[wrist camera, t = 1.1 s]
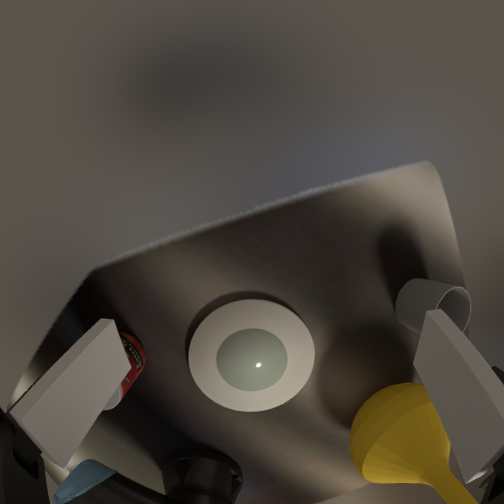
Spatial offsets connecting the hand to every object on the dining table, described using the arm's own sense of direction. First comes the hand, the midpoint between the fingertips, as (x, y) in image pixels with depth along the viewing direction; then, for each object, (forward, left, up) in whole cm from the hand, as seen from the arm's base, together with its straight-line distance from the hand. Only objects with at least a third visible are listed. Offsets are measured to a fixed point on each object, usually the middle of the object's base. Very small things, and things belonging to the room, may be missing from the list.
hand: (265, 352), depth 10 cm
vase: (-14, -33, -27) cm, 45 cm away
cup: (+6, -28, -27) cm, 40 cm away
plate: (-11, -6, -27) cm, 30 cm away
